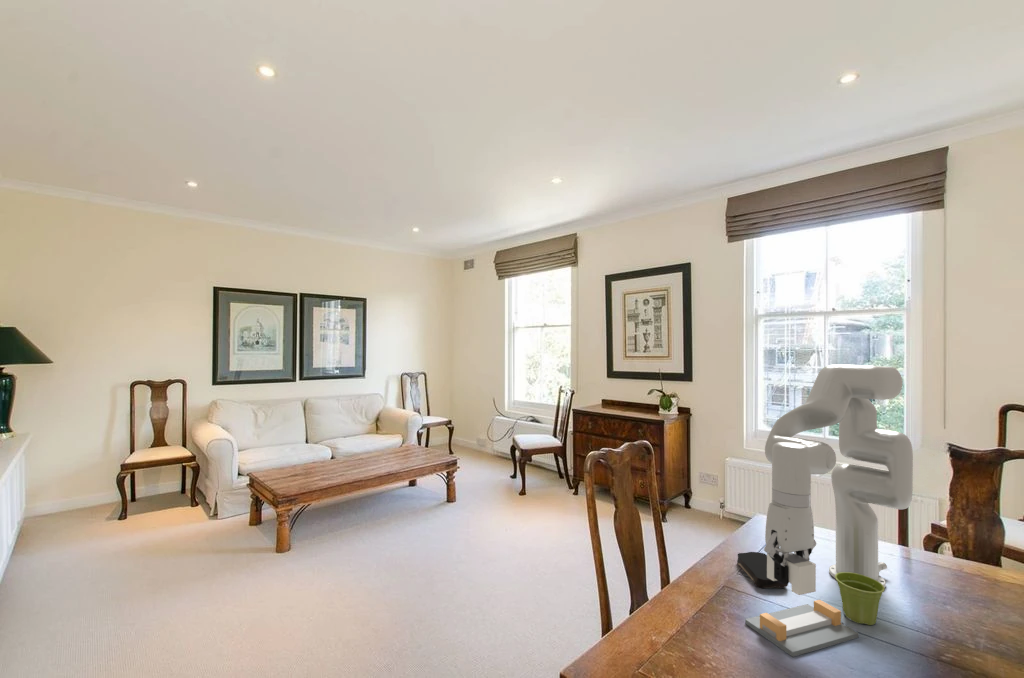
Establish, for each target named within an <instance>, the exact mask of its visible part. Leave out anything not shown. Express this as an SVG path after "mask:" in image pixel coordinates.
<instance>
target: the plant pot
mask: <svg viewBox="0 0 1024 678" xmlns="http://www.w3.org/2000/svg"><path fill="white" fill-rule="evenodd" d="M834 579H835V581H836V583H837V586H838V588H839V593H840V599H841V605H842V611H843V614H844V615H845V617H846V618H847V619H849V620H851V621H852V622H855V623H857V624H859V625H860V624H861V625H862V624H864V625H867V626H873V625H875V624H876V623H877V620H878V619H877V618H878V613H879V606H880V600H881V597H882V596H883V595H882V594H883V593H884V592H885V589H886V587H885V588H884V586H883V585H882V584H881V583H880V582H878V581H877V580H874V579H872V578H870V577H867V576H864V575H861V574H857V573H851V572H840V573H837V574H836V575H835V578H834Z"/></svg>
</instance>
